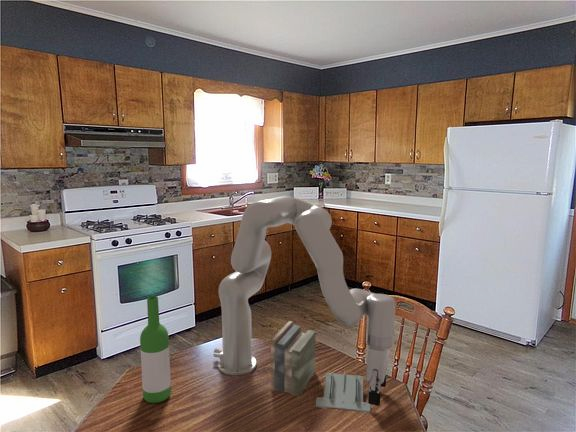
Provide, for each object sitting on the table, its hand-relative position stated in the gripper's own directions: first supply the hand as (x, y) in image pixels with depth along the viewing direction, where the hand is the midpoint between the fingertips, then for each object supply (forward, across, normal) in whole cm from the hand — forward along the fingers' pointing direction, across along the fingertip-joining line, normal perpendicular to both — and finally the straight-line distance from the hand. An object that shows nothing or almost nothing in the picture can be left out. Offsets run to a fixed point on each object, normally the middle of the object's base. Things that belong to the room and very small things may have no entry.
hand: (377, 394), depth 116 cm
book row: (+2, 0, -25) cm, 25 cm away
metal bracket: (+2, +2, -9) cm, 10 cm away
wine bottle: (+2, +23, -59) cm, 64 cm away
